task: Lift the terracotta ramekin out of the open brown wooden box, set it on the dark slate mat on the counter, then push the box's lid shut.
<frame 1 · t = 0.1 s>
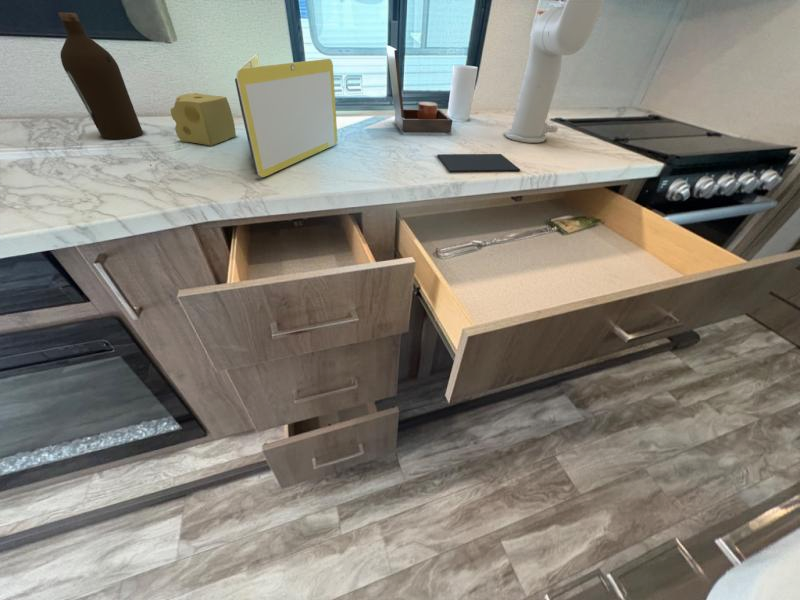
olive oil: (123, 135, 90), on the countertop
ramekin: (426, 126, 109), point 1 cm above the countertop, touching brown wooden box
white cylinder: (457, 119, 123), on the countertop
lid: (395, 81, 100), point 13 cm above the countertop, hinge at 100.0°
mat: (477, 163, 85), on the countertop
brown wooden box: (421, 128, 109), on the countertop
tablet: (298, 154, 85), on the countertop
cheese: (210, 139, 91), on the countertop
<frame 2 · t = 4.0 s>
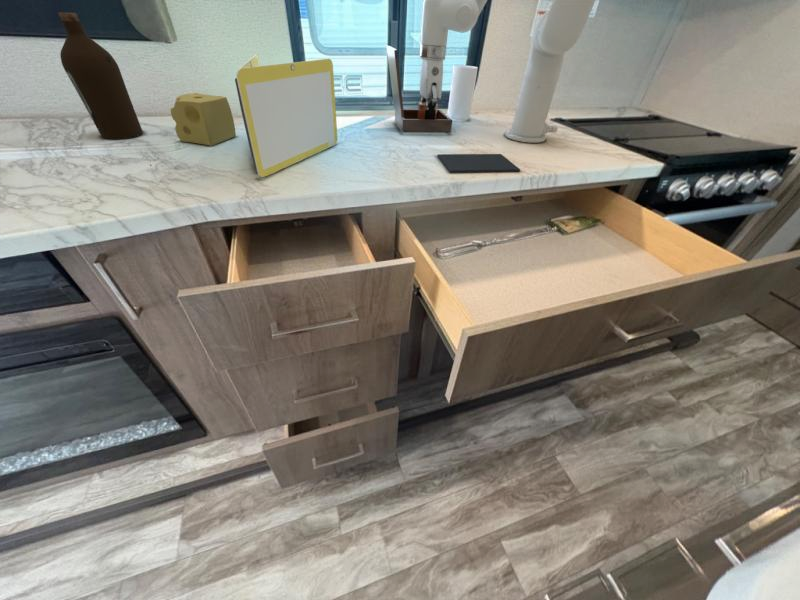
hand: (426, 120, 108), 2 cm above the countertop, tool pointing down, fingers closed on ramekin, 6 cm apart
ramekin: (426, 126, 109), point 1 cm above the countertop, touching gripper, brown wooden box
everything else where it was.
when the fingers open (2 cm above the countertop, at t = 12.0 s): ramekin stays where it is, resting on mat.
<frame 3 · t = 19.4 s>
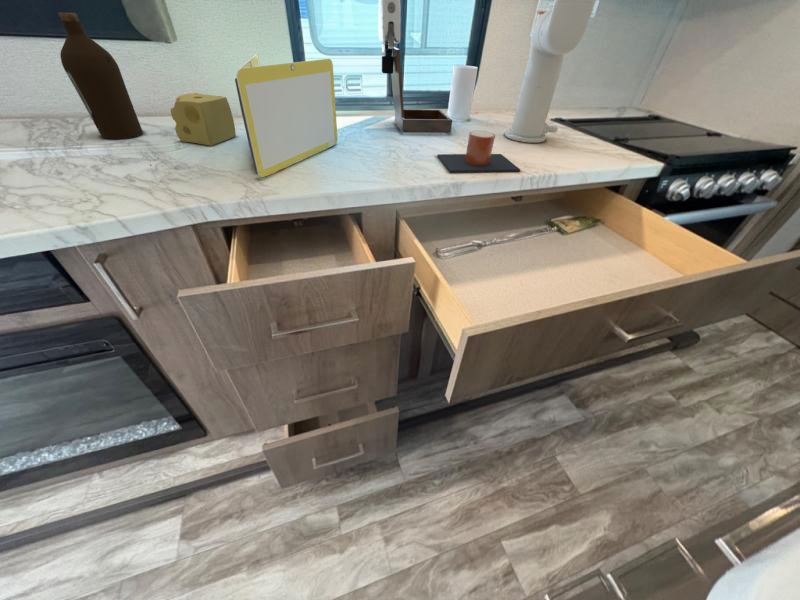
hand: (387, 72, 98), 15 cm above the countertop, tool pointing down, fingers closed
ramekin: (477, 161, 85), point 1 cm above the countertop, touching mat
lid: (396, 81, 100), point 13 cm above the countertop, hinge at 97.6°, touching gripper
everything else where it was.
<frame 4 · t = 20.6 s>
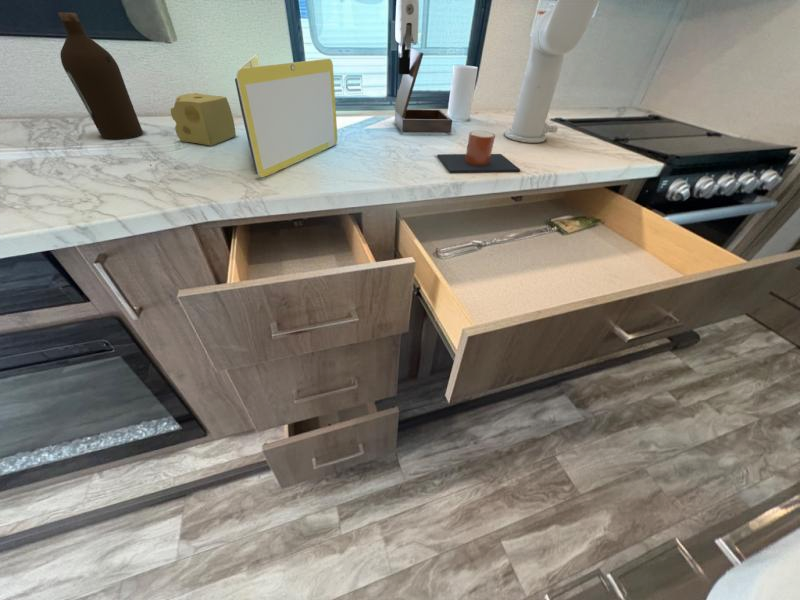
hand: (403, 73, 99), 15 cm above the countertop, tool pointing down, fingers closed
lid: (407, 83, 100), point 13 cm above the countertop, hinge at 74.2°, touching gripper
everything else where it was.
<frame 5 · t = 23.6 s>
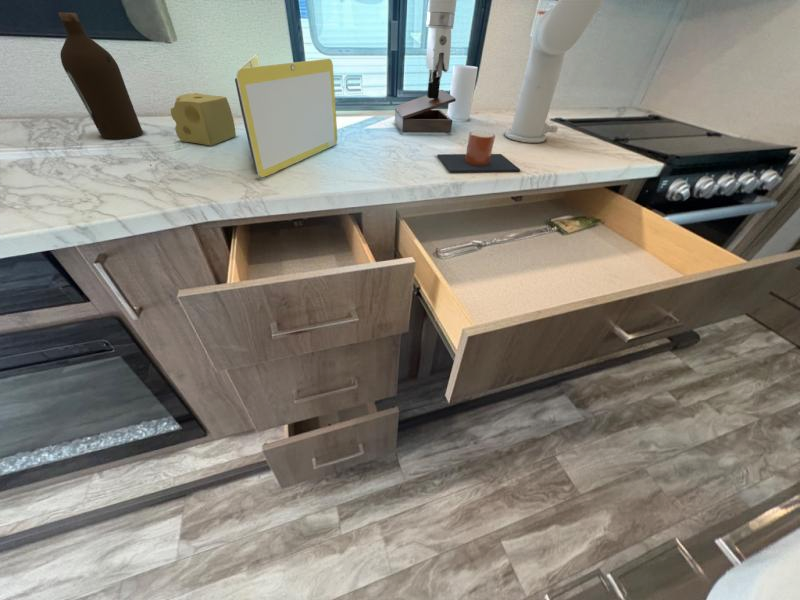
hand: (432, 97, 104), 9 cm above the countertop, tool pointing down, fingers closed
lid: (423, 103, 105), point 7 cm above the countertop, hinge at 17.8°, touching gripper
everything else where it was.
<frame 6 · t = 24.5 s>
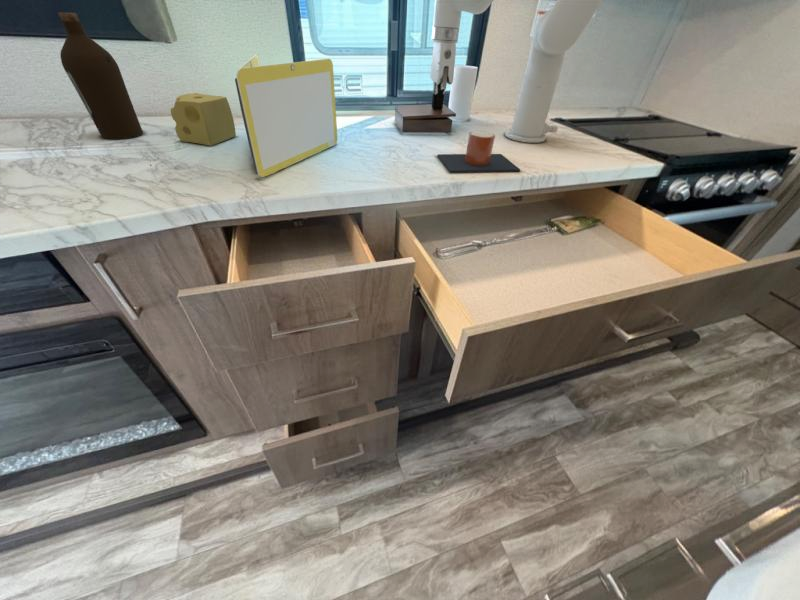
hand: (436, 108, 106), 6 cm above the countertop, tool pointing down, fingers closed
lid: (424, 111, 106), point 5 cm above the countertop, hinge at 3.3°, touching gripper
everything else where it was.
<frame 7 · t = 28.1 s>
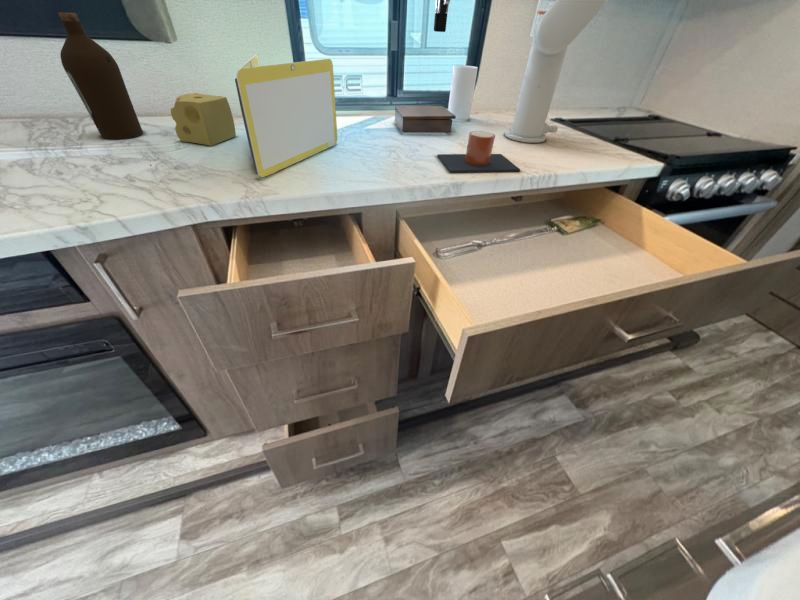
hand: (439, 31, 97), 25 cm above the countertop, tool pointing down, fingers closed
lid: (424, 112, 106), point 5 cm above the countertop, hinge at 1.0°
everything else where it was.
at the end: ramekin inside the target area on the mat (0.2 cm from its centre), point 0.6 cm above the mat's base; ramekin tilted 0°; lid at +1° (first picture: +100°) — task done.
